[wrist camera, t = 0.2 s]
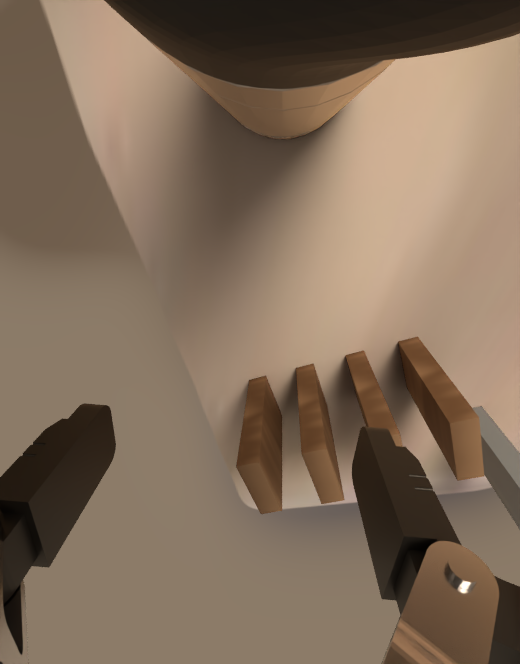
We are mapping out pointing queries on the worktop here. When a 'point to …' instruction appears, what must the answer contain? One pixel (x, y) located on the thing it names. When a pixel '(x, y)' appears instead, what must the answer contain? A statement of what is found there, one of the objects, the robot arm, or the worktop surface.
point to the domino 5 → (500, 464)
